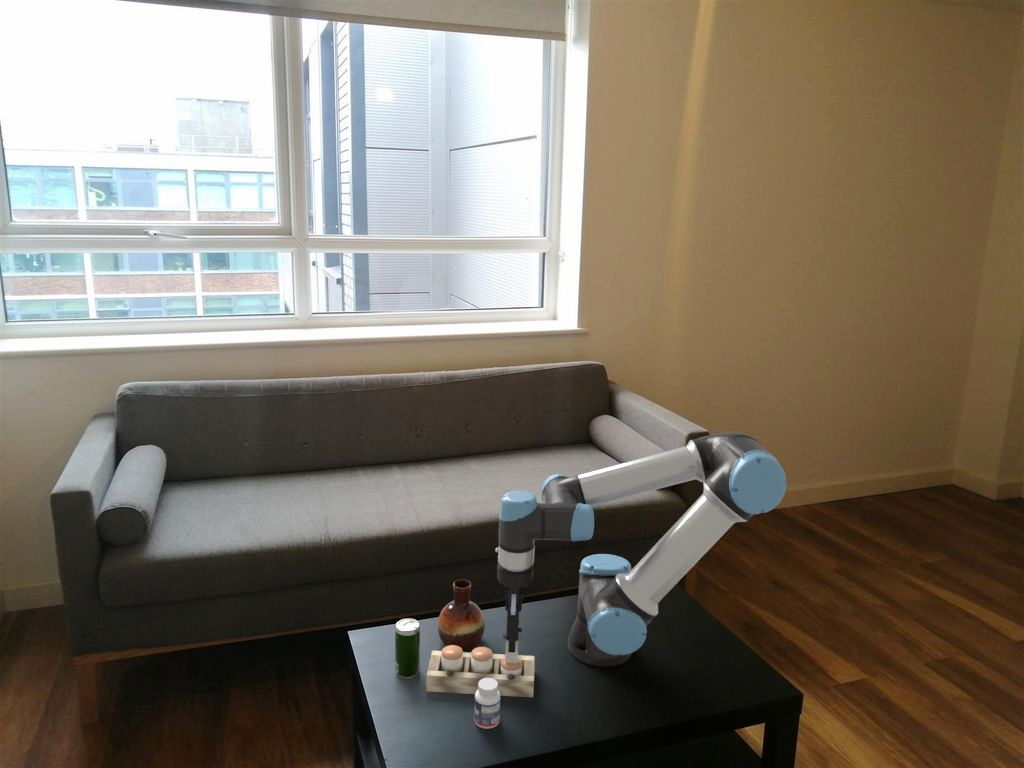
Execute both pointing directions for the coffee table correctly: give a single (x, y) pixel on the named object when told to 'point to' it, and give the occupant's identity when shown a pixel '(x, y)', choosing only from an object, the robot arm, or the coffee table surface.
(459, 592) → the vase
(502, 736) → the coffee table surface
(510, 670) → the button
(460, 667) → the button
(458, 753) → the coffee table surface
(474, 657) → the button
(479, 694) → the pill bottle
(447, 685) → the wooden egg tray
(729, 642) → the coffee table surface
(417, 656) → the beer can
